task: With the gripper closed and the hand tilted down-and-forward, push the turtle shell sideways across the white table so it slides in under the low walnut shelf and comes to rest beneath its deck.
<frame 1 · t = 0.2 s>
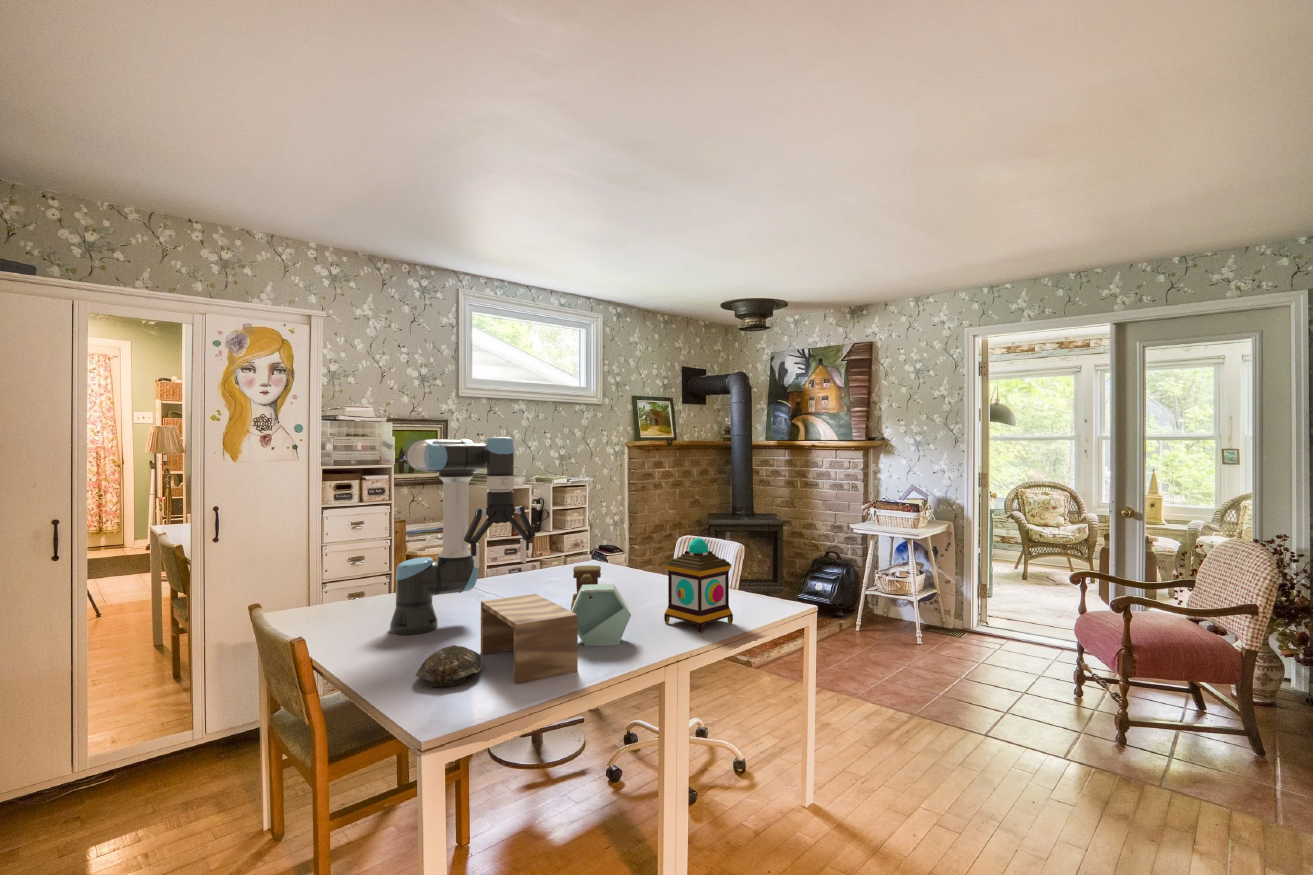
hand: (500, 564, 180), 28 cm above the table, tool pointing down, fingers open, 13 cm apart
decorative lantern: (698, 624, 220), on the table
planter: (599, 642, 198), on the table
wooden toy train: (586, 616, 230), on the table
turtle shell: (449, 678, 168), on the table
walnut shelf: (524, 662, 179), on the table
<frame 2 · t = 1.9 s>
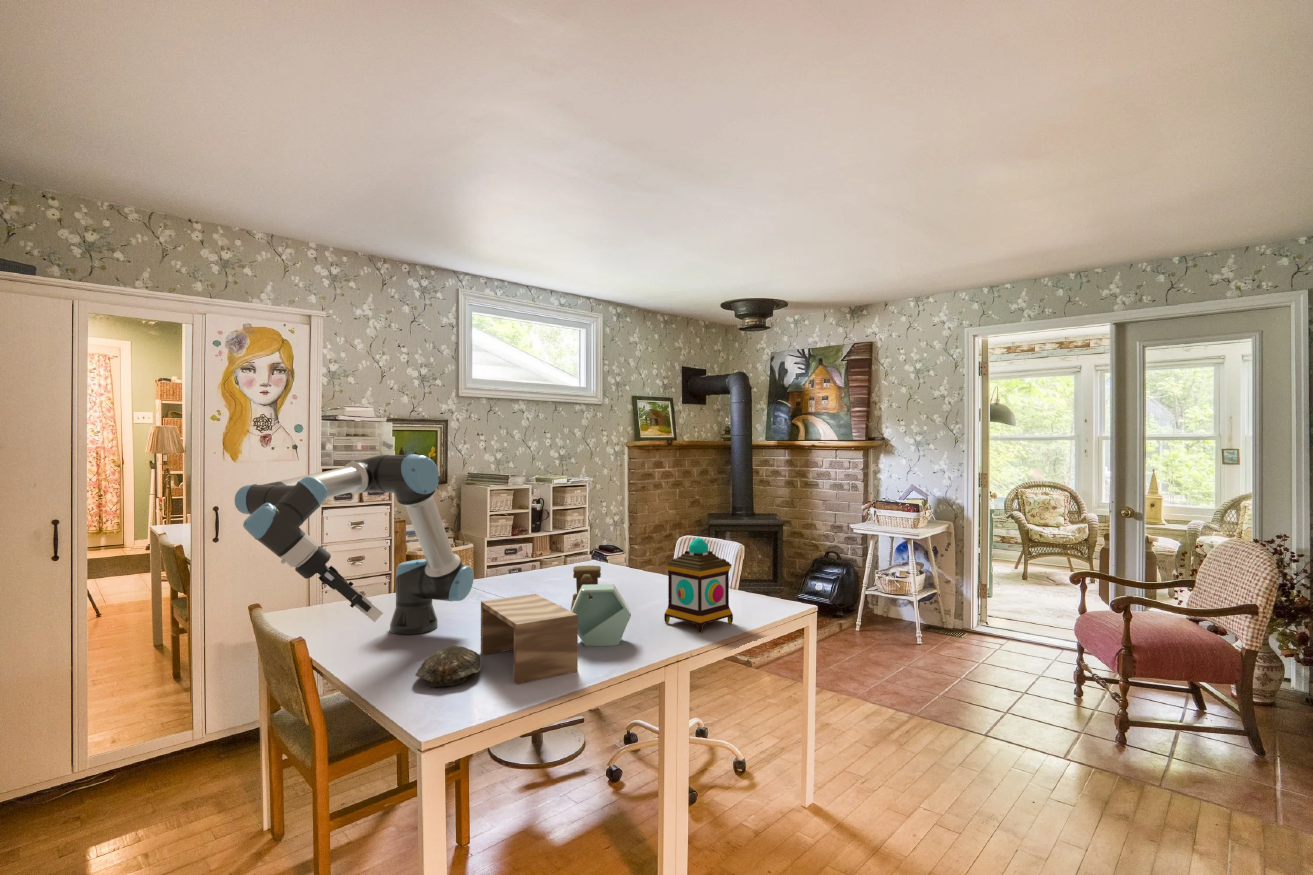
hand: (373, 611, 158), 20 cm above the table, tool tilted 45°, fingers open, 13 cm apart
nothing on the table moved.
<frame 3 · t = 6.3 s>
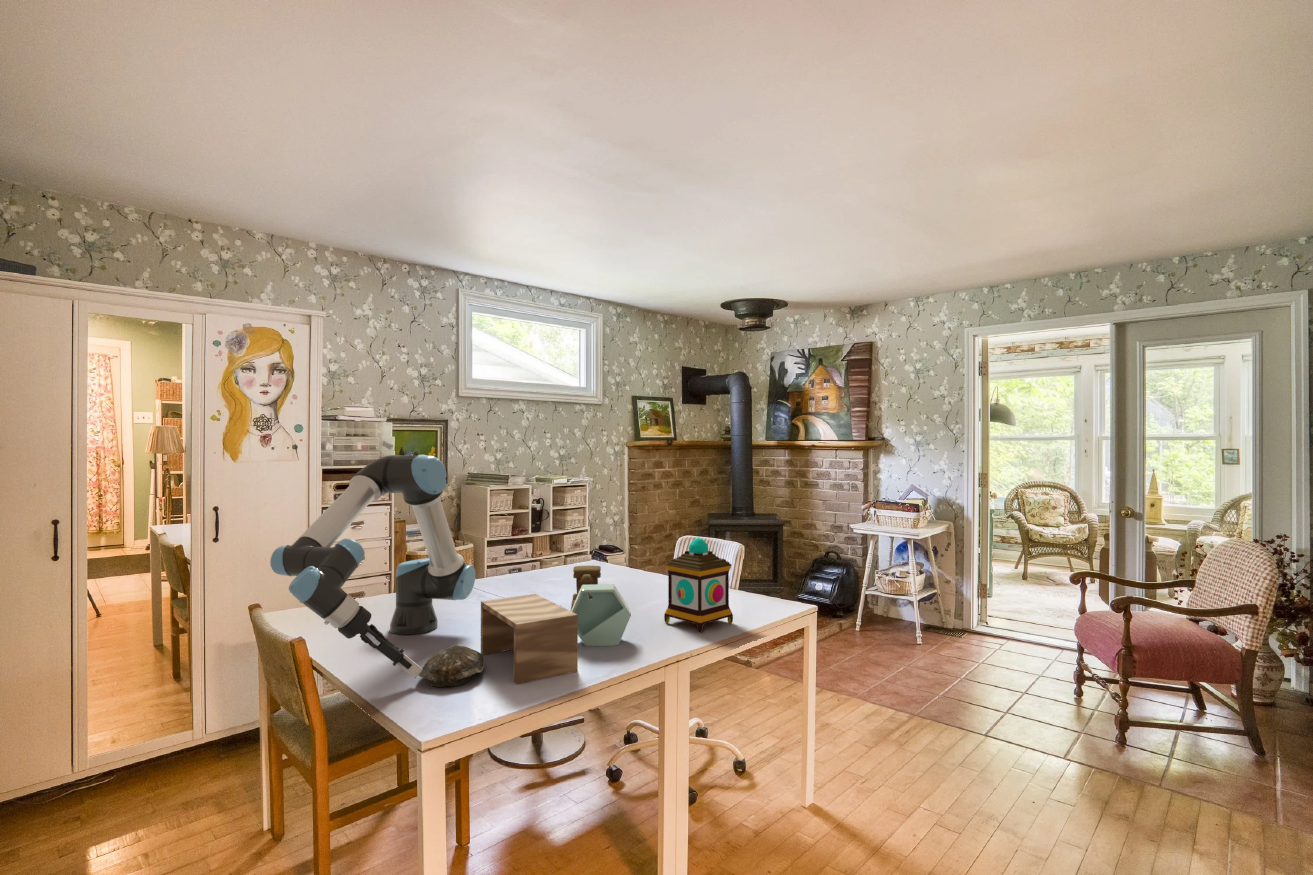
hand: (418, 672, 162), 3 cm above the table, tool tilted 45°, fingers closed
turtle shell: (452, 678, 168), on the table, touching gripper
everything else where it was.
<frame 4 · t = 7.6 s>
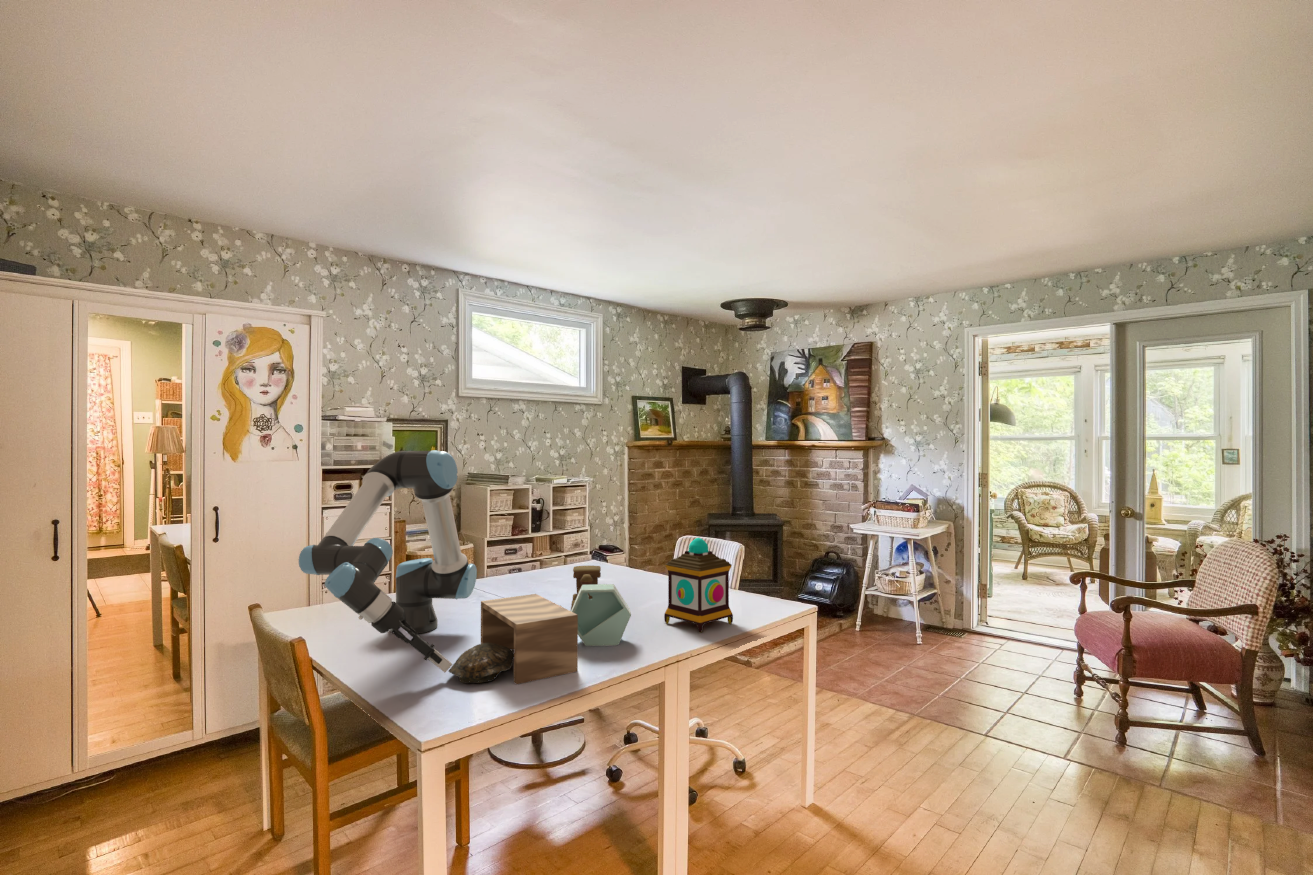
hand: (448, 667, 166), 3 cm above the table, tool tilted 45°, fingers closed
turtle shell: (482, 674, 170), on the table, touching gripper
everything else where it was.
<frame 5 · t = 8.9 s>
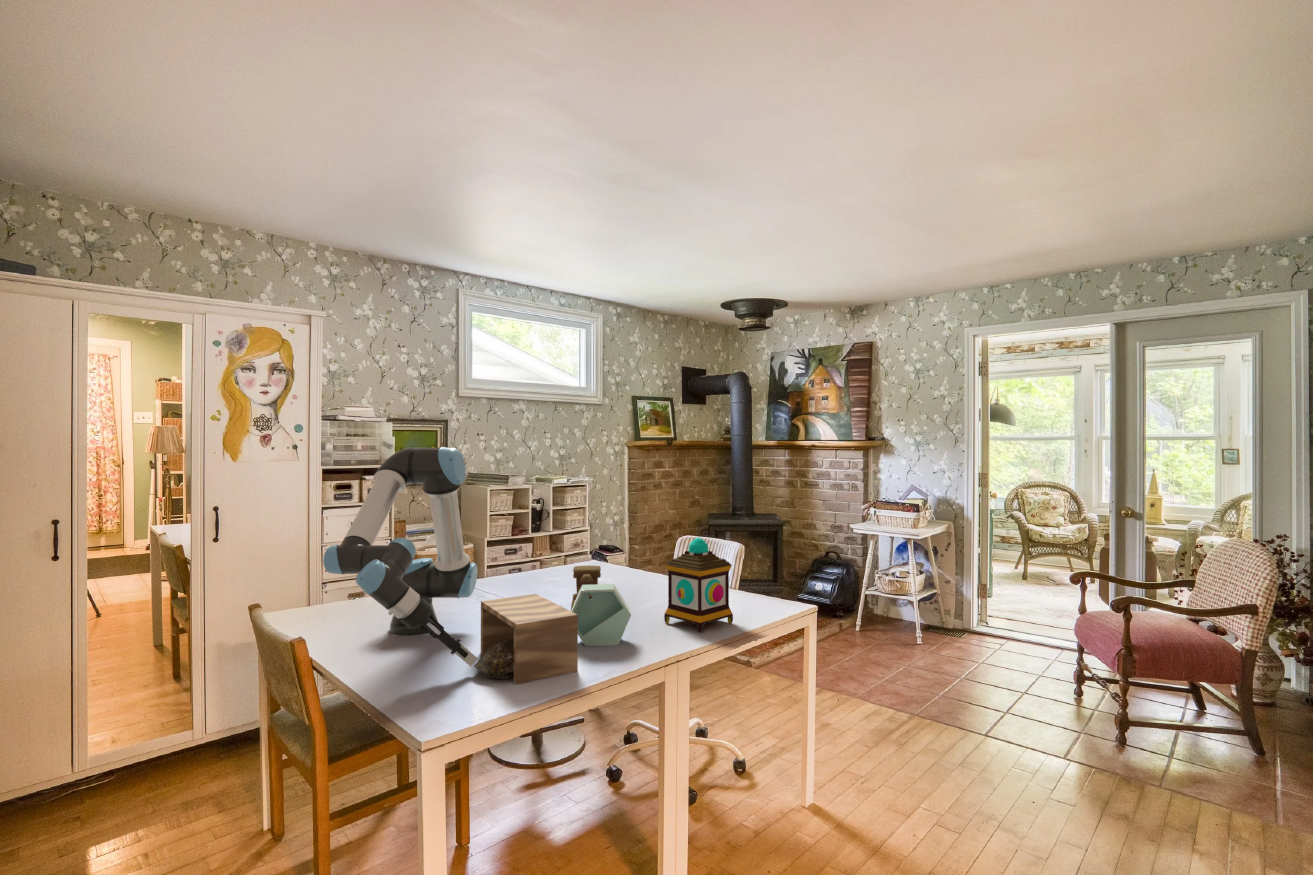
hand: (473, 661, 170), 3 cm above the table, tool tilted 45°, fingers closed
turtle shell: (506, 671, 173), on the table, touching gripper
everything else where it was.
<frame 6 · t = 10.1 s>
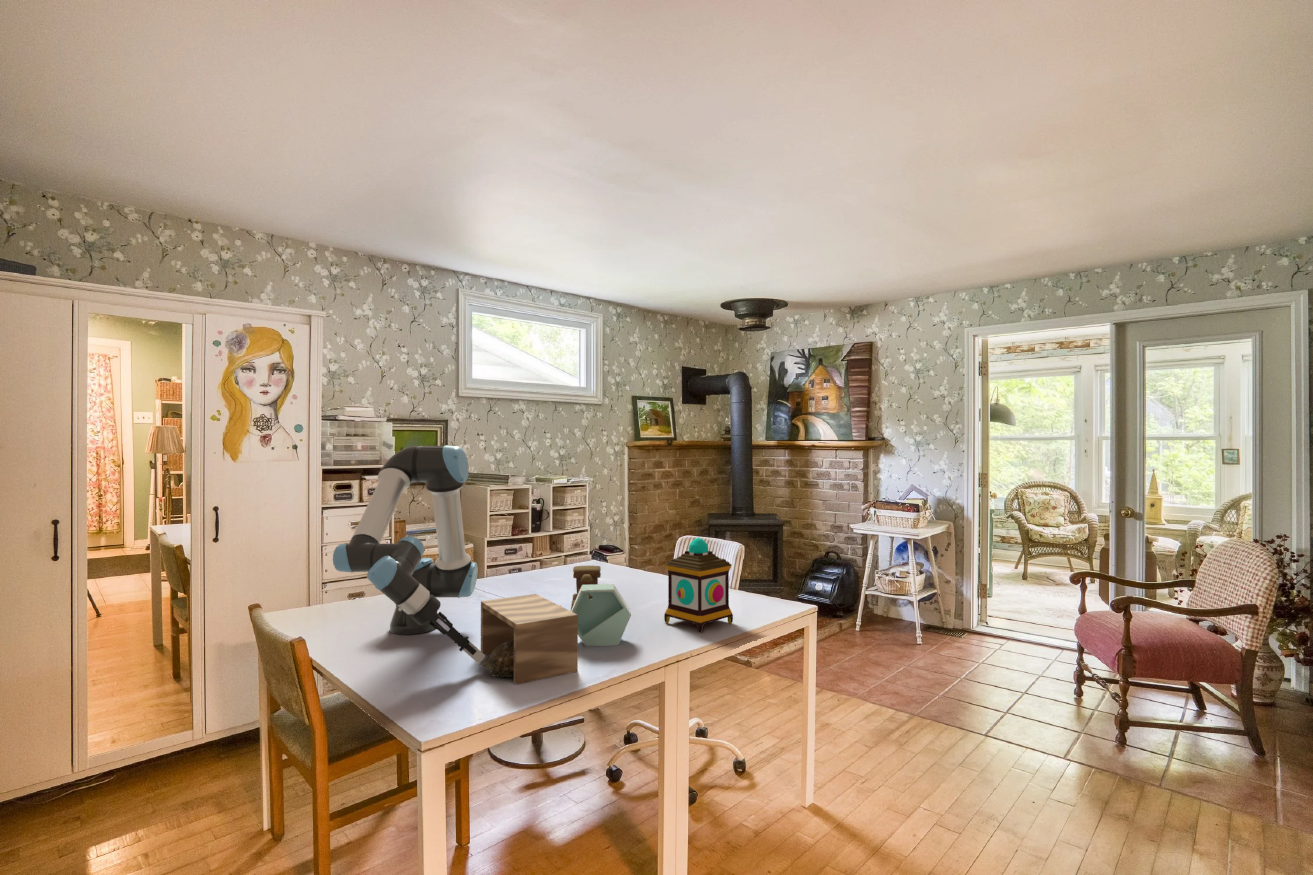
hand: (481, 659, 172), 3 cm above the table, tool tilted 45°, fingers closed
turtle shell: (513, 669, 174), on the table, touching gripper, walnut shelf
everything else where it was.
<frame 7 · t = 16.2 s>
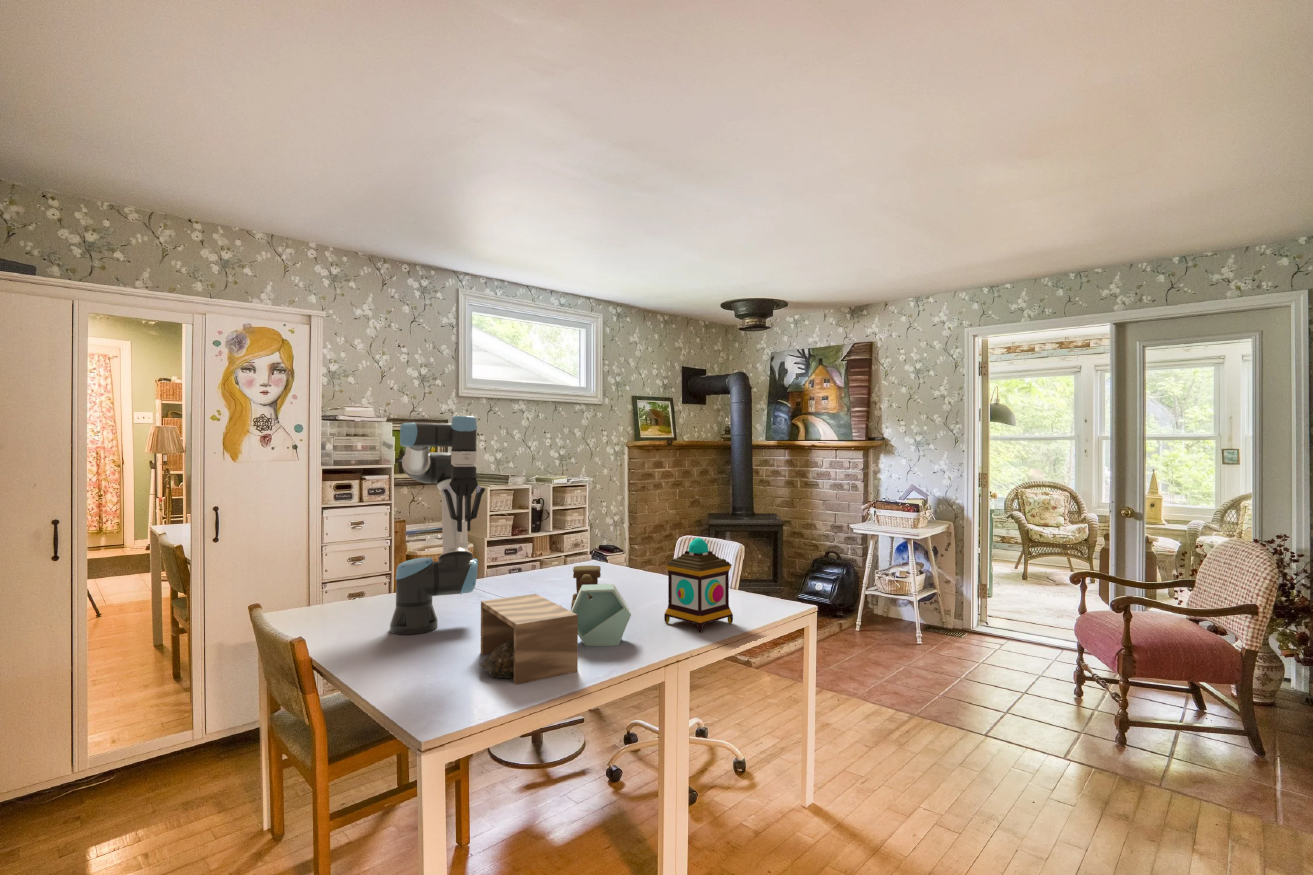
hand: (463, 542, 193), 32 cm above the table, tool pointing down, fingers closed
turtle shell: (513, 670, 174), on the table, touching walnut shelf
everything else where it was.
at the end: turtle shell inside the target area (4.7 cm from its centre), on the table; turtle shell moved 16.7 cm from its start; turtle shell touching table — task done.
